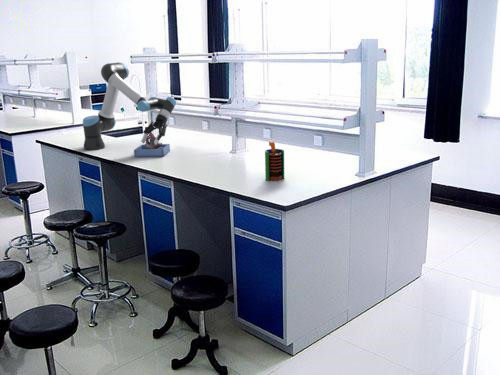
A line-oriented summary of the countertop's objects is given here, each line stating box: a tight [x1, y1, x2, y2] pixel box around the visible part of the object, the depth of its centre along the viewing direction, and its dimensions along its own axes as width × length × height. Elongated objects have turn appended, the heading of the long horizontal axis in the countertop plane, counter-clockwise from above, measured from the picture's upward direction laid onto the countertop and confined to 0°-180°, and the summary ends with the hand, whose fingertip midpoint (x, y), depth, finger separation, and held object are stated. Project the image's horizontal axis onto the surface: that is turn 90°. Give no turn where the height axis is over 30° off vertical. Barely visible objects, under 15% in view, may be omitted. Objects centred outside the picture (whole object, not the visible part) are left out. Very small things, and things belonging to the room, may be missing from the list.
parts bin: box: [133, 143, 171, 158], centre depth 349 cm, size 20×18×5 cm
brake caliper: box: [143, 132, 163, 149], centre depth 348 cm, size 11×11×12 cm
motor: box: [264, 141, 285, 182], centre depth 272 cm, size 10×9×20 cm
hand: (148, 143), depth 345 cm, fingers closed on brake caliper, 11 cm apart
